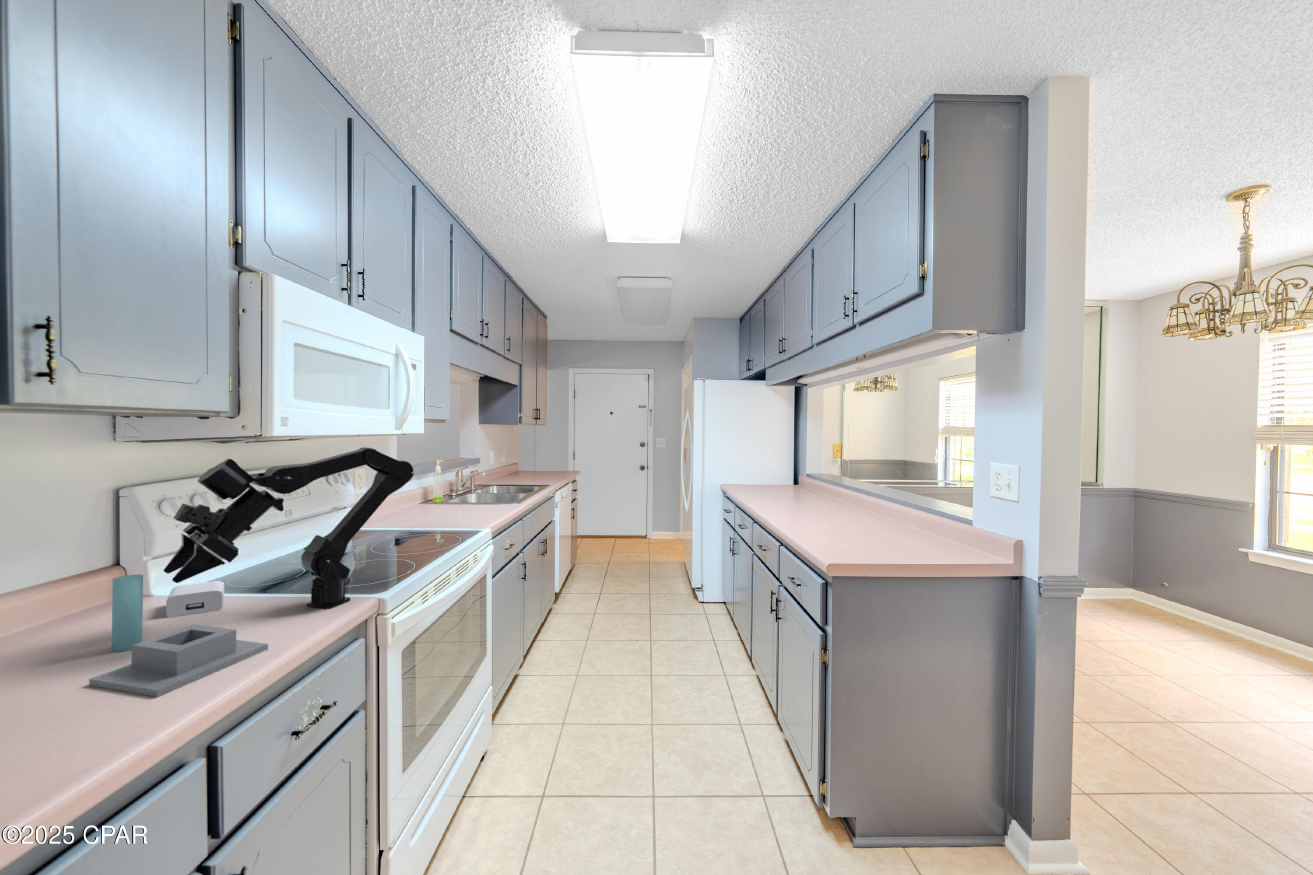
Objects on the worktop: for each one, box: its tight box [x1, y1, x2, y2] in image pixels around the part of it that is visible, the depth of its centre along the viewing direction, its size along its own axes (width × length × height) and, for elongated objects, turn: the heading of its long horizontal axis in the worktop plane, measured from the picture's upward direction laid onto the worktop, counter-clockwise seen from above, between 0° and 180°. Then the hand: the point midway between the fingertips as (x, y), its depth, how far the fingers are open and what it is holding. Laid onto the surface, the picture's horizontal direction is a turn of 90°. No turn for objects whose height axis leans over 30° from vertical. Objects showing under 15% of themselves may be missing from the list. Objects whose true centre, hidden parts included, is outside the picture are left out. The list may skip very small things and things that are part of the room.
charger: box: [165, 580, 225, 618], centre depth 121 cm, size 5×9×15 cm
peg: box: [111, 574, 144, 653], centre depth 97 cm, size 4×4×13 cm
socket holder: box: [88, 623, 269, 698], centre depth 90 cm, size 18×14×5 cm
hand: (169, 576), depth 101 cm, fingers open, 9 cm apart
